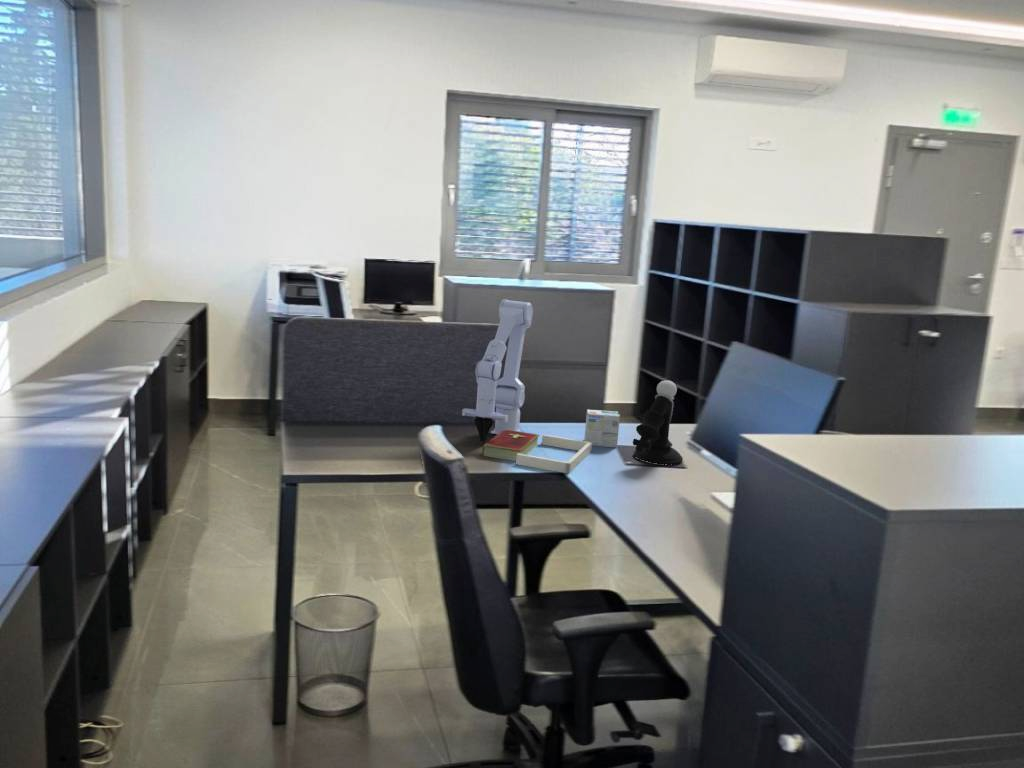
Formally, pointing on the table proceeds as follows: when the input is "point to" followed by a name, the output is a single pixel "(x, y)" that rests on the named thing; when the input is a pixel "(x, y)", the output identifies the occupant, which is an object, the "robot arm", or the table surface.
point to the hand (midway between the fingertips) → (483, 440)
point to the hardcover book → (510, 444)
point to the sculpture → (658, 429)
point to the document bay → (557, 465)
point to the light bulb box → (602, 428)
